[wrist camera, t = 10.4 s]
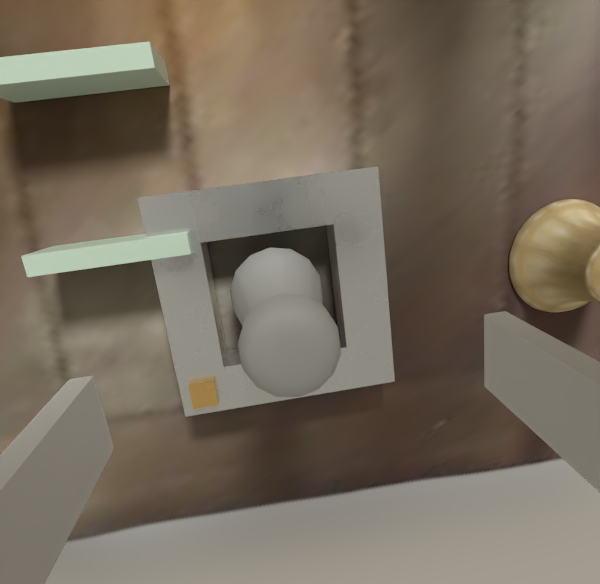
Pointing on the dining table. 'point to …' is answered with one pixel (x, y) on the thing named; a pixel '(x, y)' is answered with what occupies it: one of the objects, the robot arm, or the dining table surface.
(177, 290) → the socket
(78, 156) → the dining table surface
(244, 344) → the salt shaker
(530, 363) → the robot arm
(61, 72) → the pale green rectangular blocks
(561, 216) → the hand bell
